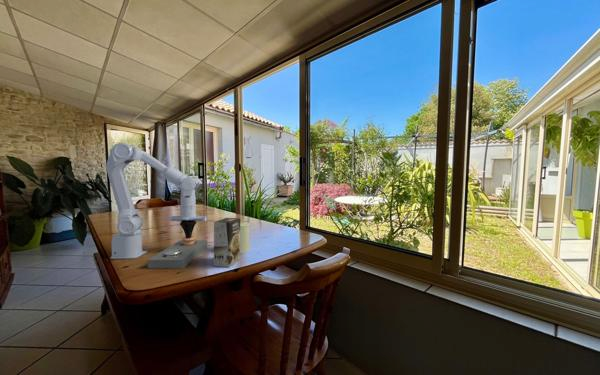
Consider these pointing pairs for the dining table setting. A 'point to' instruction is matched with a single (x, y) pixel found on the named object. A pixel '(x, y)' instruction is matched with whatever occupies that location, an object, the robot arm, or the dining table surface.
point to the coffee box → (226, 242)
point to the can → (244, 237)
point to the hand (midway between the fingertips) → (188, 238)
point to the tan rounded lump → (188, 241)
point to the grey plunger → (173, 253)
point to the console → (182, 260)
